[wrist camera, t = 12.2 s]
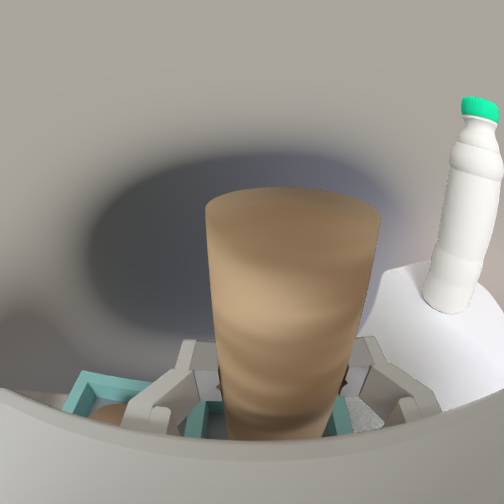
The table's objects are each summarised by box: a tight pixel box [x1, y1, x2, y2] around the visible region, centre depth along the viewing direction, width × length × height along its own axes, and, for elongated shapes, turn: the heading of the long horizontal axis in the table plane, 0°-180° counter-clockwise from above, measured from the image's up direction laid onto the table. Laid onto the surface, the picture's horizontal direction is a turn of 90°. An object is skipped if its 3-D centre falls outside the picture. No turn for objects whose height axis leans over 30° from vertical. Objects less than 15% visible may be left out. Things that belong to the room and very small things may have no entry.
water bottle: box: [422, 96, 504, 314], centre depth 25 cm, size 7×7×25 cm
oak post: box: [205, 187, 381, 441], centre depth 10 cm, size 4×4×14 cm
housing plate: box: [62, 371, 353, 440], centre depth 14 cm, size 20×11×4 cm, turn 90°
